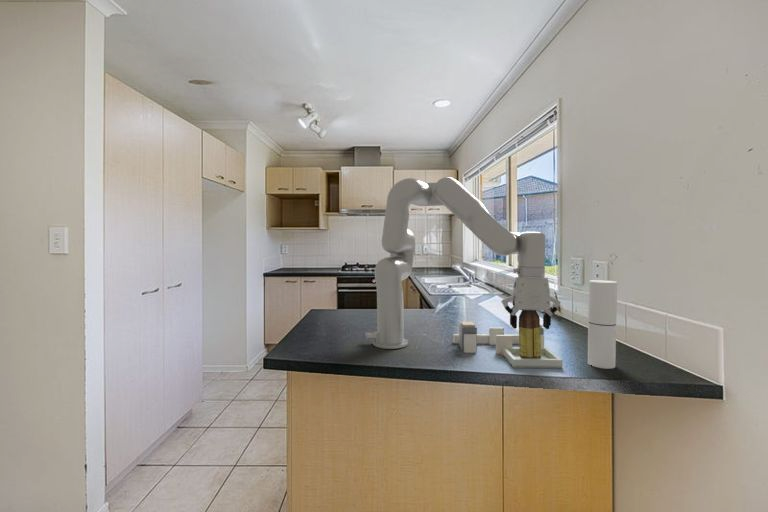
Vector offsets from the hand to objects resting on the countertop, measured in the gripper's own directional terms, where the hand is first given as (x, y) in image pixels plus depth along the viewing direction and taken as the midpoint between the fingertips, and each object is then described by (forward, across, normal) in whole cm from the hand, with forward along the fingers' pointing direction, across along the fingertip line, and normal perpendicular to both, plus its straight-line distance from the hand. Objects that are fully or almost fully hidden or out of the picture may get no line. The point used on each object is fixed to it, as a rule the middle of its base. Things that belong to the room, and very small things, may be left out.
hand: (530, 327), depth 112 cm
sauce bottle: (+10, 0, 0) cm, 10 cm away
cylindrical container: (+10, +20, -2) cm, 23 cm away
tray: (+10, 0, 0) cm, 10 cm away
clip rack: (+10, -6, +13) cm, 17 cm away
